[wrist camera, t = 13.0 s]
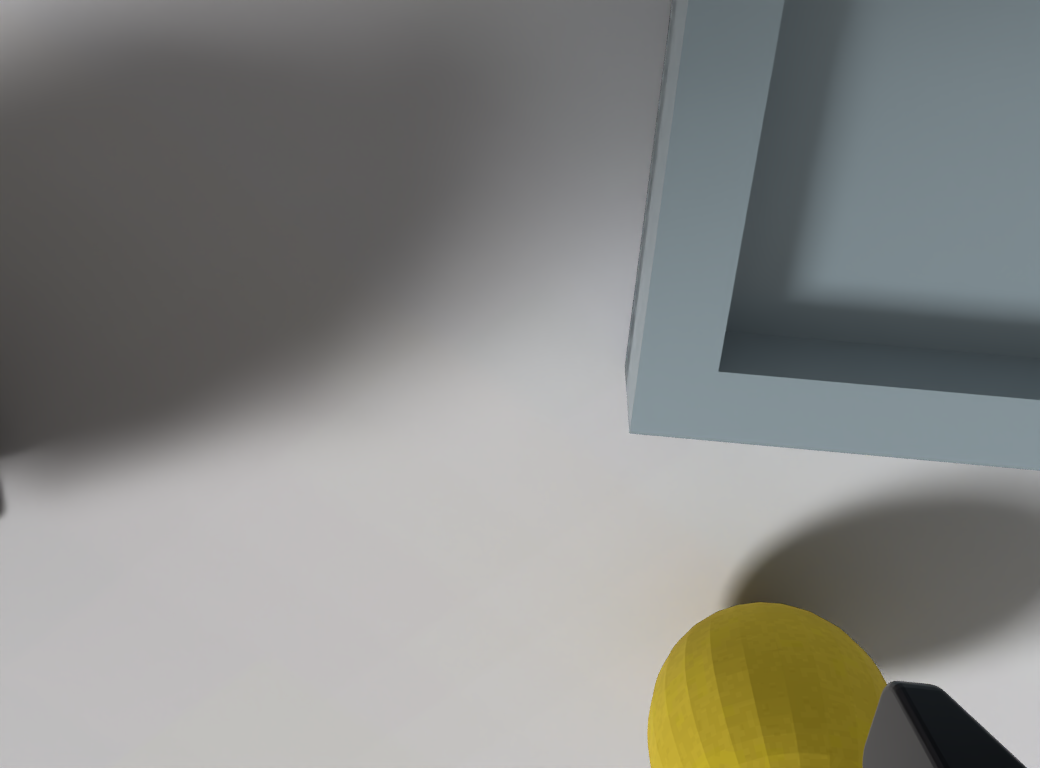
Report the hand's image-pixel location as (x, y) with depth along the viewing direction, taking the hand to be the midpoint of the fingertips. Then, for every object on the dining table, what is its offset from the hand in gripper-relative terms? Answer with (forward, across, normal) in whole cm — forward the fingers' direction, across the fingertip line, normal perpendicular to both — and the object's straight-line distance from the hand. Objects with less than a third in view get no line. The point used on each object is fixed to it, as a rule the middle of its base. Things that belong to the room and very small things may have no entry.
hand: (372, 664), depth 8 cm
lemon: (+13, -7, +10) cm, 18 cm away
